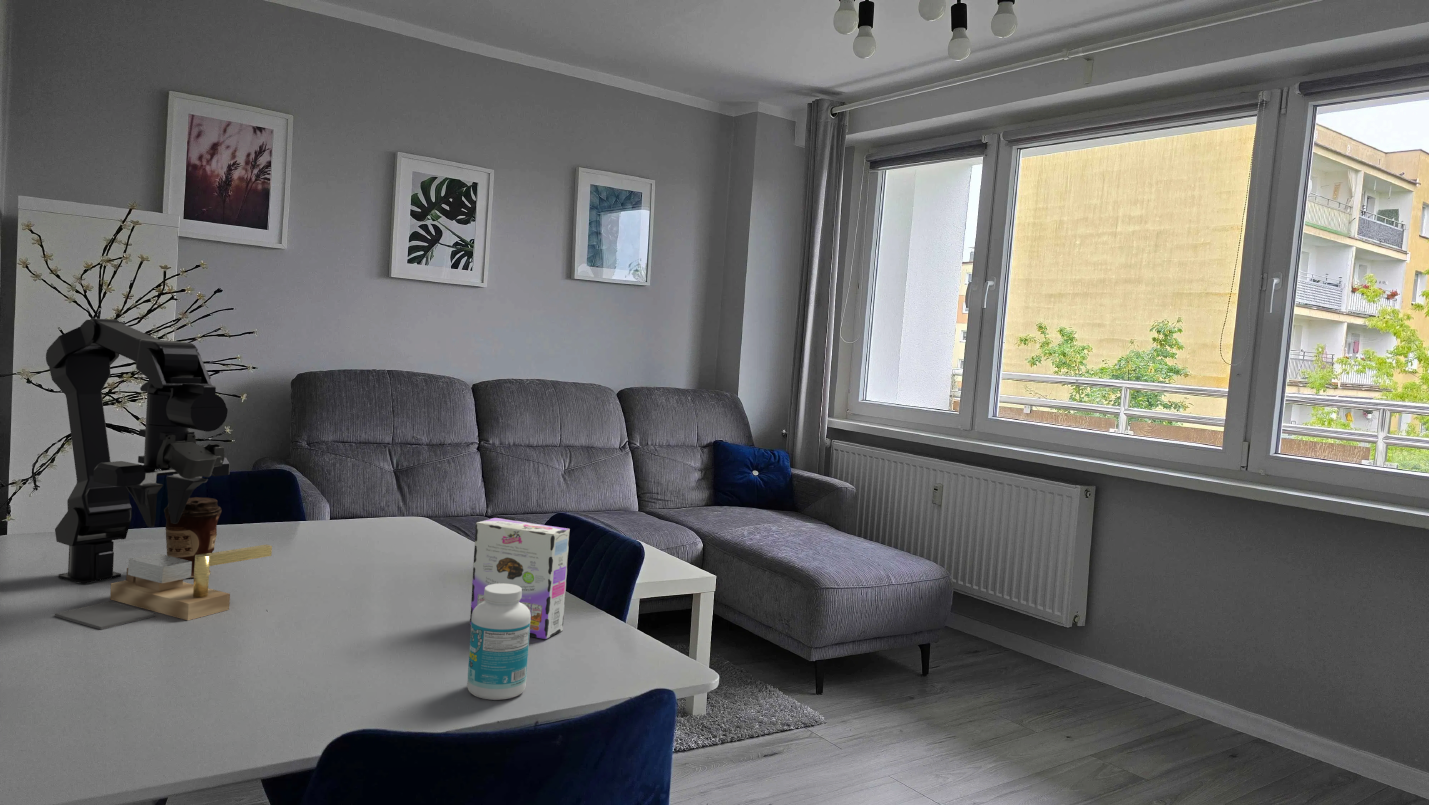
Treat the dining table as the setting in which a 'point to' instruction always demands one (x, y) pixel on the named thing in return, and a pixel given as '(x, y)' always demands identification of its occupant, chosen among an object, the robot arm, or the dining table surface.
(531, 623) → the candy box
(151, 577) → the grey flat block
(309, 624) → the dining table surface
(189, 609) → the latch plate
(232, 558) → the latch lever
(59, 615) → the mat
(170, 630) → the dining table surface
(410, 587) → the dining table surface
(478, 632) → the pill bottle
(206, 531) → the brown jar
